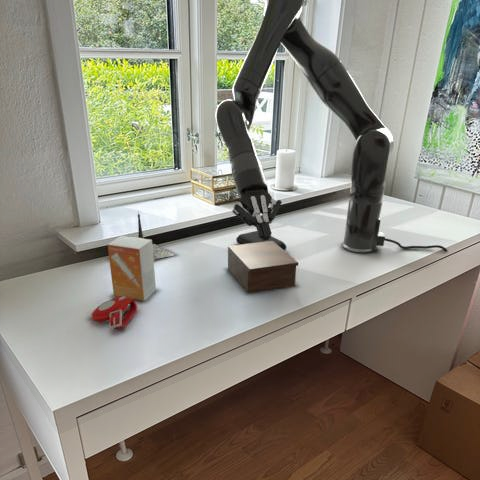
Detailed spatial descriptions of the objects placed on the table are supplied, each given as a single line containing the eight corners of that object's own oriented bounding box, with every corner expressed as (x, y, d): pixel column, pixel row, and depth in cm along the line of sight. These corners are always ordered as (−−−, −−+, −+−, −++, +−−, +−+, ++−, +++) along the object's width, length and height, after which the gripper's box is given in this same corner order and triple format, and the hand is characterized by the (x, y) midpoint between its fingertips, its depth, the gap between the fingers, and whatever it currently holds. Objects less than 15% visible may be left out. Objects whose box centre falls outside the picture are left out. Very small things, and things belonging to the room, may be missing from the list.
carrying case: (230, 244, 141) (259, 260, 130) (230, 234, 139) (259, 250, 129) (259, 237, 146) (289, 252, 135) (259, 228, 144) (289, 242, 134)
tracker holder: (80, 313, 101) (116, 288, 106) (90, 329, 103) (124, 304, 108) (110, 321, 92) (147, 293, 98) (120, 339, 95) (155, 311, 100)
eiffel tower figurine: (154, 245, 139) (150, 200, 132) (174, 255, 133) (172, 208, 126) (109, 258, 130) (102, 210, 123) (128, 269, 124) (123, 220, 117)
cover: (298, 265, 113) (298, 262, 113) (249, 272, 109) (249, 269, 109) (272, 243, 126) (272, 240, 125) (227, 248, 122) (227, 245, 121)
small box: (113, 296, 110) (106, 244, 104) (126, 285, 115) (121, 234, 109) (144, 301, 108) (139, 248, 102) (156, 290, 113) (152, 238, 107)
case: (294, 285, 117) (296, 264, 114) (247, 293, 113) (248, 271, 110) (271, 263, 128) (272, 243, 126) (227, 269, 125) (227, 249, 122)
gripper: (268, 182, 123) (285, 242, 119) (220, 186, 118) (236, 249, 115) (277, 165, 116) (296, 228, 112) (226, 169, 112) (244, 235, 108)
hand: (266, 238), depth 113 cm, fingers closed
